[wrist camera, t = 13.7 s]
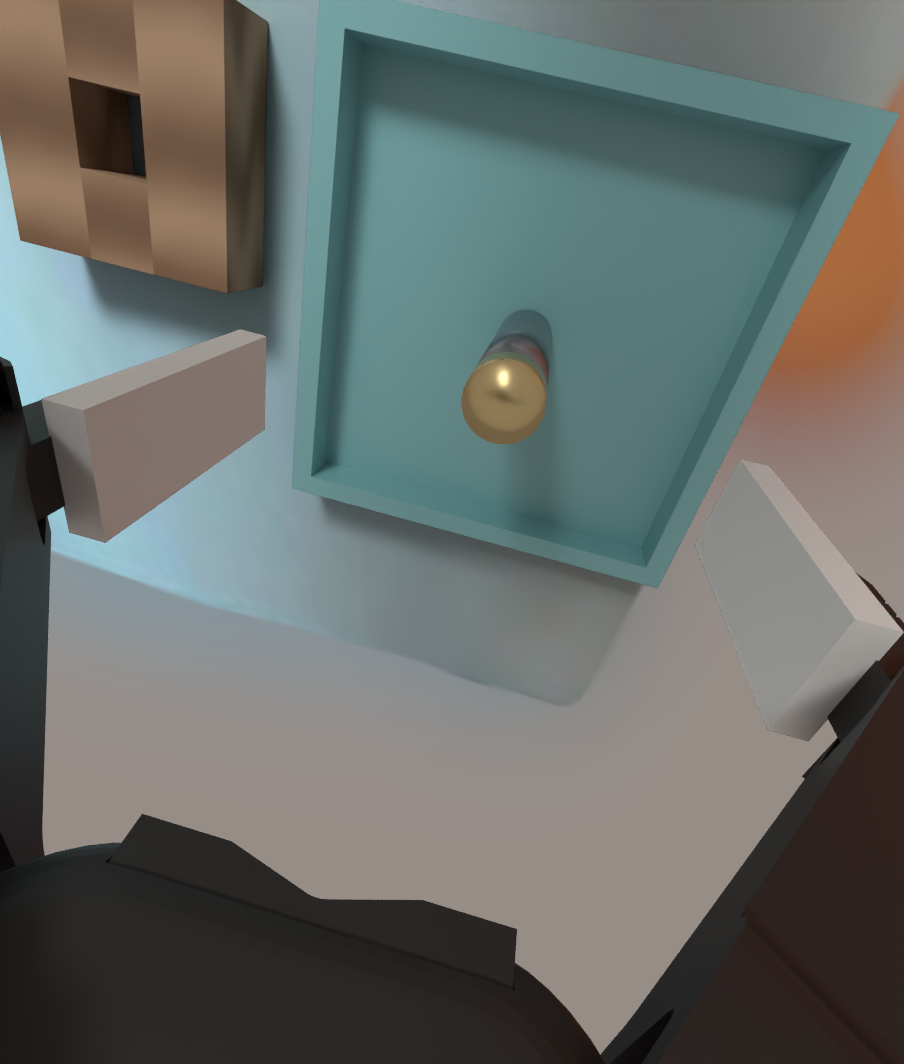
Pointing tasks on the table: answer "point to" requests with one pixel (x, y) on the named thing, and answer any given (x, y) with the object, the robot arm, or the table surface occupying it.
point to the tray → (550, 272)
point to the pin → (510, 381)
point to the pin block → (168, 133)
